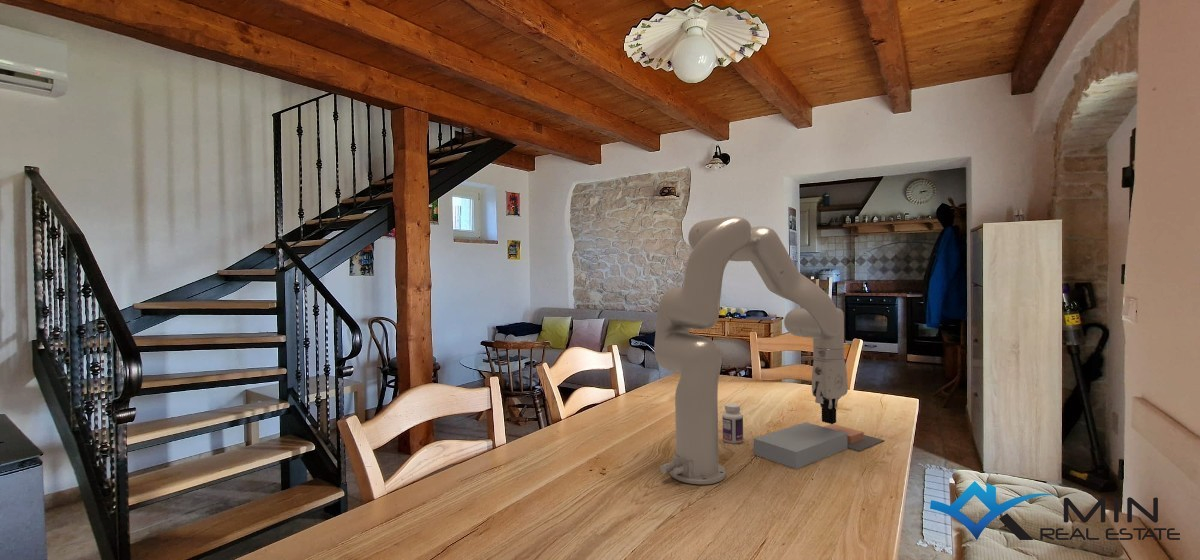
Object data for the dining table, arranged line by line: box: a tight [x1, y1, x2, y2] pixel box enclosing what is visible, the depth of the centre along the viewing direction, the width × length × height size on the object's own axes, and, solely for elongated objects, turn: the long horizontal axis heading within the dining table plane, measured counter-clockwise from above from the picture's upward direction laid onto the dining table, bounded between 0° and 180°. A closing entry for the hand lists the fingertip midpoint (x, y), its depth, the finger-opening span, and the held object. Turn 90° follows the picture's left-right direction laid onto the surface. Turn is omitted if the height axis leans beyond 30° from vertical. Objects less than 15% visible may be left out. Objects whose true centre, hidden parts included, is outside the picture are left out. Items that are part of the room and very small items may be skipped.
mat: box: [846, 434, 886, 453], centre depth 139 cm, size 13×14×1 cm
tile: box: [822, 423, 865, 444], centre depth 139 cm, size 6×9×2 cm, turn 33°
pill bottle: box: [721, 402, 744, 444], centre depth 139 cm, size 5×5×10 cm
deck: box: [753, 421, 848, 470], centre depth 130 cm, size 22×12×4 cm, turn 125°
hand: (828, 422), depth 137 cm, fingers closed
